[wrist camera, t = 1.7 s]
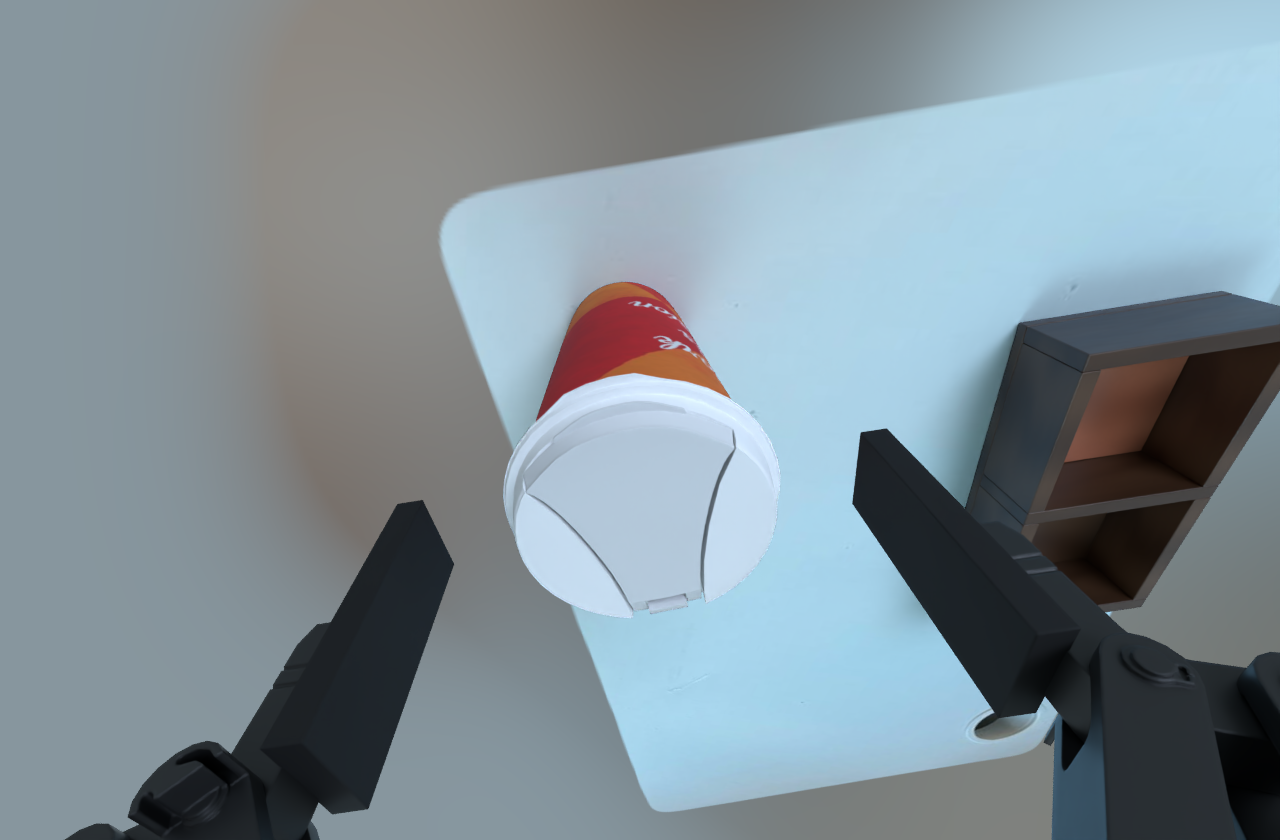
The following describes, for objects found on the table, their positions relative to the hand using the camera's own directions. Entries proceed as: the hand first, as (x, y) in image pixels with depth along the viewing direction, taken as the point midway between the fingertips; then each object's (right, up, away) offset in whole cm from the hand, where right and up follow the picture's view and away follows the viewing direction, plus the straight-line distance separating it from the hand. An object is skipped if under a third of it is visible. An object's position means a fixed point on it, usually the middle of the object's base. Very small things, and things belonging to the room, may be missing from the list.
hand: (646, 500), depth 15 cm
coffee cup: (-1, +7, +11) cm, 14 cm away
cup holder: (+29, 0, +18) cm, 34 cm away
